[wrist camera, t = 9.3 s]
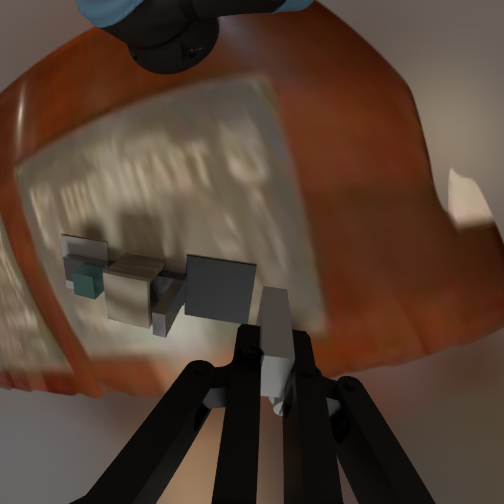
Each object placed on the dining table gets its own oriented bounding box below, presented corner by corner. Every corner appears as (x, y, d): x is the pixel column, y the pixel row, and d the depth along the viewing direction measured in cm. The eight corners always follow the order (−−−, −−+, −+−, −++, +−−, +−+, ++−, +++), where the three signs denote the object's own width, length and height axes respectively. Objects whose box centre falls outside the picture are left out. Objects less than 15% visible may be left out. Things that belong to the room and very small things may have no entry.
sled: (68, 253, 49) (31, 278, 38) (187, 275, 49) (165, 312, 38) (71, 275, 51) (36, 303, 39) (186, 299, 51) (165, 340, 39)
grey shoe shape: (187, 255, 49) (186, 255, 48) (256, 265, 49) (256, 266, 48) (184, 313, 53) (184, 314, 53) (247, 323, 53) (247, 324, 53)
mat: (61, 234, 49) (60, 235, 48) (107, 242, 49) (106, 242, 48) (67, 286, 53) (66, 287, 52) (111, 298, 53) (110, 298, 52)
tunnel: (125, 253, 49) (102, 272, 41) (165, 260, 49) (147, 281, 41) (127, 295, 52) (107, 318, 44) (165, 302, 52) (149, 328, 44)
